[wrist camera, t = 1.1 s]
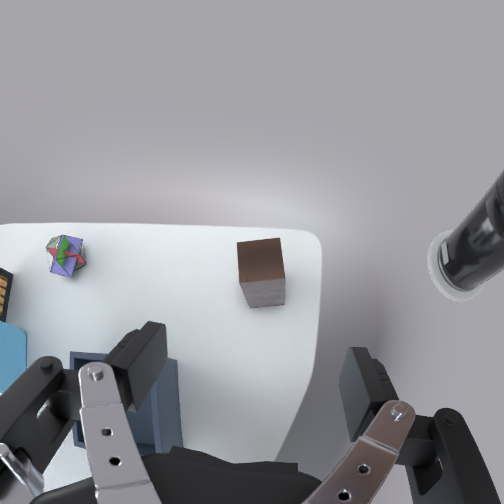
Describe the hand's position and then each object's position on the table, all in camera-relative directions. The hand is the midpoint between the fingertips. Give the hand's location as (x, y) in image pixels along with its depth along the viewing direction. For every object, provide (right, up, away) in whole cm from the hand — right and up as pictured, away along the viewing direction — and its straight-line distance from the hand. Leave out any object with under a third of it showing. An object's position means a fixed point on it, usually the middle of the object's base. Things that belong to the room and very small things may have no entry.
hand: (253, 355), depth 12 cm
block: (+2, -1, +26) cm, 26 cm away
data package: (-41, -15, +24) cm, 50 cm away
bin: (-15, -16, +20) cm, 30 cm away
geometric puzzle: (-30, +2, +31) cm, 43 cm away
